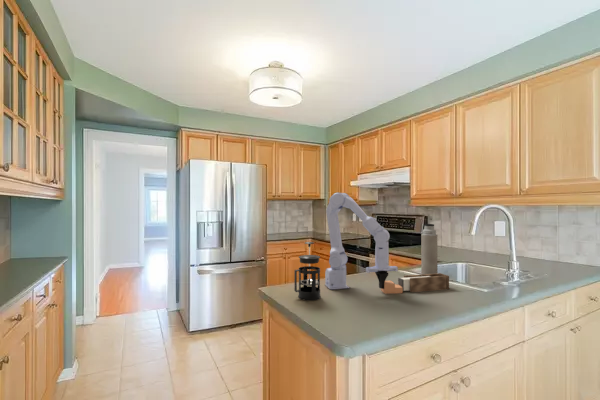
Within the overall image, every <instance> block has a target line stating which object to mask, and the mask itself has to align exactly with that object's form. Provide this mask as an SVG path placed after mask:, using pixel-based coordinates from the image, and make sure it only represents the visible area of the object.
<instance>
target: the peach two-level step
mask: <svg viewBox="0 0 600 400" xmlns="http://www.w3.org/2000/svg"><path fill="white" fill-rule="evenodd" d="M380 291H381V292H383V294H384V295H386V294H387V295H388V294H403V292H404V291H403V288H402V287H401V286H400V285H399V284H398V283H397V284H396V283H395V282H393V281H392V280H385V282H384V289H381V288H380Z"/></svg>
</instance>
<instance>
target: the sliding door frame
mask: <svg viewBox="0 0 600 400" xmlns="http://www.w3.org/2000/svg"><path fill="white" fill-rule="evenodd" d="M422 276H430V277H422ZM407 277H418V278H410V290H409V292H410V293H420V292H429V291H430V292H431V291H432V292H433V291H442V290H443V291H444V290H450V275H448V274H444V273H441V272H438V273H436V274H406V275H405V274H404V275H403V278H407Z"/></svg>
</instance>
